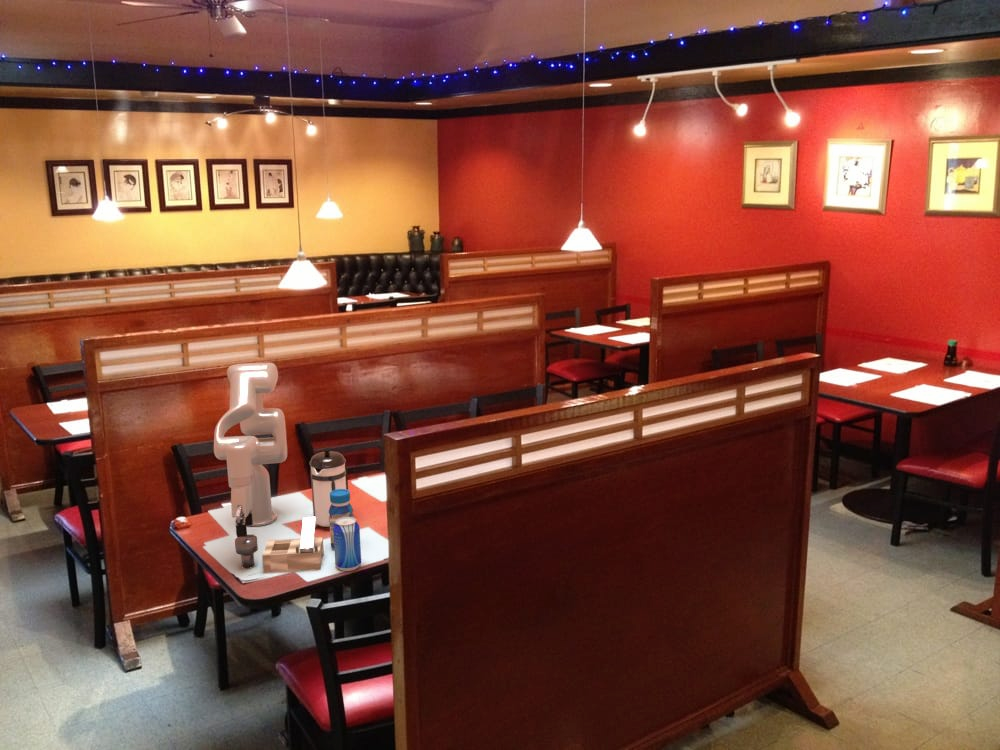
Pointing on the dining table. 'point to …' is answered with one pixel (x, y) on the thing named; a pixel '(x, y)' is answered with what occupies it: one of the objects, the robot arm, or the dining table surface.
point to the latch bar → (307, 534)
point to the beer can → (347, 544)
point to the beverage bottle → (339, 508)
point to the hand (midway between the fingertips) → (244, 530)
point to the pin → (246, 549)
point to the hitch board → (291, 556)
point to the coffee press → (326, 482)
